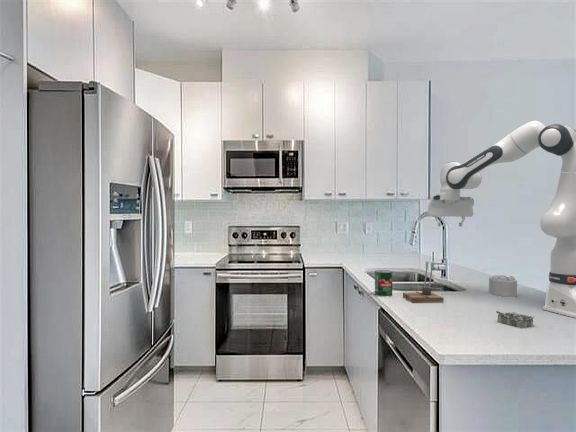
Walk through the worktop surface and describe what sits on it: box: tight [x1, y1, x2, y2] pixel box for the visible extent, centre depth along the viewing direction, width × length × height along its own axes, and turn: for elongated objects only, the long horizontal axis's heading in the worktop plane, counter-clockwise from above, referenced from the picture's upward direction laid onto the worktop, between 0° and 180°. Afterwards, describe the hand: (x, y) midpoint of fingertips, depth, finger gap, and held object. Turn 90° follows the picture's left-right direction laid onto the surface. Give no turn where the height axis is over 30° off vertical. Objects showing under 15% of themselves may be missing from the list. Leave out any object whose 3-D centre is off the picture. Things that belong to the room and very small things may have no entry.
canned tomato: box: [374, 269, 393, 297], centre depth 202 cm, size 8×8×11 cm
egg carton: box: [495, 310, 536, 329], centre depth 151 cm, size 11×8×4 cm
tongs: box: [421, 261, 435, 296], centre depth 192 cm, size 3×4×14 cm
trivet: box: [402, 291, 444, 304], centre depth 191 cm, size 13×13×2 cm
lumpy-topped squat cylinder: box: [488, 274, 518, 298], centre depth 203 cm, size 10×13×9 cm
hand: (449, 226), depth 208 cm, fingers open, 8 cm apart
